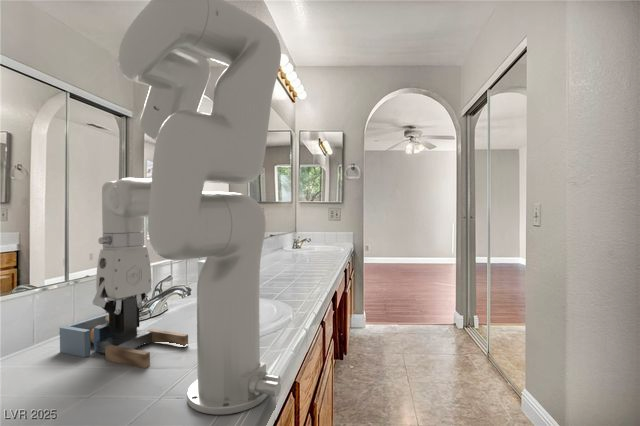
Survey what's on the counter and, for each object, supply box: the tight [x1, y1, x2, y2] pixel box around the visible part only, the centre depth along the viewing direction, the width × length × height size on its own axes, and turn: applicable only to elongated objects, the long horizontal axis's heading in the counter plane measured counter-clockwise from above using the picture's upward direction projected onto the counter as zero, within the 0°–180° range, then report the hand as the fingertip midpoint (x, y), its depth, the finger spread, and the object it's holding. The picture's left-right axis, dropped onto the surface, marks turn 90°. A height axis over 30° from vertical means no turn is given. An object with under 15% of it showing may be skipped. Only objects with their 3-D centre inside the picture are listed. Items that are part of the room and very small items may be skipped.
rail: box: [104, 328, 189, 369], centre depth 76 cm, size 10×11×2 cm
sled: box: [93, 297, 152, 354], centre depth 78 cm, size 8×8×10 cm
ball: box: [90, 325, 100, 344], centre depth 81 cm, size 4×4×4 cm
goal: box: [59, 313, 109, 358], centre depth 81 cm, size 7×12×5 cm, turn 158°
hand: (124, 328), depth 78 cm, fingers closed on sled, 3 cm apart
